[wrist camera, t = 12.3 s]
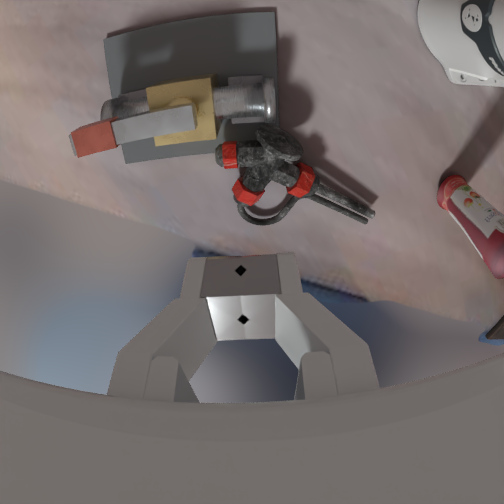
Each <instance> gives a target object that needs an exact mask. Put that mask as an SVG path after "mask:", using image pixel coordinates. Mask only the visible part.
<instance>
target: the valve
mask: <svg viewBox="0 0 504 504" xmlns="http://www.w3.org/2000/svg"><path fill="white" fill-rule="evenodd" d="M255 135H256V138H257V140H246V141H239V144H237V141H226V142H224V143H223V144H219V145H218V146H217V148H216V149H215V157H216V162H217V164H218V165H220V166H221V167H223V166H224V168H225V169H228V168H238V164H240V167H247V168H246V172H245V173H244V175H243V176H242V177H241V178H239V179H237V181H236V183H235V184H234V186H233V188H232V191H233V193H234V200H235V202H236V203H237V204H238V205H237V208H238V212H239V214H240V215H241V216H242V218H243V219H245V220H246V221H248V222H250V223H252V224H255V225H270V224H274V223H276V222H278V221H280V220H281V219H282V218H283V217H285V216H286V214H287V213H288V212H289V211H290V209H291V208H292V207H293V206H294V204H295V203H296V202H297V201H298V200H299V199H301V198H309V199H311V200H313V201H316V202H318V203H320V204H322V205H325V206H327V207H329V208H331V209H333V210H336V211H338V212H340V213H342V214H344V215H346V216H349V217H351V218H353V219H355V220H357V221H359V222H361V223H363V224H367V223H368V219H367V218H365V217H363V216H361V215H358V214H356V213H354V212H352V211H350V210H348V209H346V208H344V207H342V206H340V205H338V204H335V203H333V202H331V201H329V200H327V199H325V198H323V197H320V196H318V195H316V194H314V193H315V192H317V193H319V194H321V195H324V196H326V197H328V198H330V199H332V200H334V201H336V202H339V203H341V204H343V205H345V206H347V207H349V208H351V209H353V210H355V211H357V212H359V213H361V214H363V215H365V216H367V217H369V218H373V217H374V216H375V211H373V210H372V209H370V208H368V207H366V206H364V205H362V204H360V203H358V202H356V201H354V200H352V199H350V198H348V197H346V196H344V195H342V194H340V193H338V192H336V191H334V190H332V189H330V188H328V187H326V186H324V185H322V184H320V180H319V177H318V176H317V175H316V174H315V173H314V172H313V169H312V167H310V166H307V165H305V164H303V163H301V162H299V163H298V164H297V165H295V166H294V165H292V164H290V163H288V162H285V159H286V160H289V161H297V160H299V159H300V158H301V156H302V155H303V149H302V147H301V145H300V144H299V142H298V141H297V140H296V139H295V138H294V137H293V136H291V135H290V134H289V133H287V132H285V131H284V130H282V129H280V128H278V127H275V126H272V125H268V124H263V125H260V126H259V127H258V128H257V130H256V132H255ZM271 180H272V181H275V182H277V183H280V184H282V185H285V186H286V188H287V193H289V194H292V195H293V196H292V197H291V199H290V200H289V201H288V202H287V204H286V205H285V206H284V208H283V209H282V210H281V211H280V213H279V214H277V215H276V216H274V217H272V218H268V219H258V218H254V217H252V216H250V215H248V214H247V212H246V211H245V209H244V207H248V206H252V205H253V204H254V203H256V202H257V201H259V199H260V198H261V196H262V195H263V193H264V192H265V190H264V188H265V187H266V185H267V184H268V183H269V182H270V181H271Z"/></svg>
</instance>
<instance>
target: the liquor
mask: <svg viewBox="0 0 504 504" xmlns="http://www.w3.org/2000/svg"><path fill="white" fill-rule="evenodd" d="M437 201H438V204H439V206H440V207H441V208H443V209H445V210H447V211H448V212H449V213H450V215H451V216H452V217H453V218H454V219H455V221H456V222H457V223H458V225H459V226H460V227H461V228H462V230H463V231H464V232H465V234H466V235H467V237H468V238H469V239H470V241H471V242H472V244H473V245H474V247H475V248H476V250H477V251H478V253H479V254H480V256H481V257H482V259H483V260H484V262H485V263H486V265H487V266H488V268H489V269H490V271H491V272H492V274H493V276H494V277H495V278H497V279H503V278H504V215H503V214H502V213H500V212H499V211H498V210H497V209H496V208H495V207H493V206H492V205H491V204H490V203H489V202H488V201H486V200H485V199H484V198H483V197H482V196H481V195H479V194H478V193H477V192H476V191H475V190H474V189H472V188H471V187H470V186H469V185H468V184H467V183H466V181H465V179H464V178H463V177H462V176H460V175H452V176H450V177H448V178H446V179H445V180H444V181H443V183H442V184H441V185H440V187H439V190H438V193H437Z"/></svg>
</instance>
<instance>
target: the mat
mask: <svg viewBox="0 0 504 504" xmlns="http://www.w3.org/2000/svg"><path fill="white" fill-rule="evenodd" d="M103 41H104V49H105V57H106V64H107V71H108V77H109V84H110V90H111V95H112V99H114V98H118V95H120V94H122V93H124V92H129V91H133V90H138V89H142V88H147V87H149V86H152V85H154V84H156V83H159V82H161V81H165V80H171V79H177V78H183V77H190V76H198V75H206V74H215V73H217V81H218V87H224V86H229V84H228V77H229V76H234V75H249V74H262V77H273V80H274V87H275V99H276V121H275V123H264V122H253V123H237V124H232V120H231V119H221V127H220V130H219V133H218V136H217V139H214V140H203V141H194V142H185V143H177V144H169V145H162V146H155V140H154V137H150V138H145V139H141V140H136V141H131V142H127V143H122V144H121V145H122V150H123V154H124V158H125V163H126V164H128V163H134V162H141V161H148V160H155V159H162V158H170V157H178V156H187V155H196V154H206V153H215V149H216V148H217V146H218V145H219V144H223V143H224V142H226V141H237V144H239V141H246V140H257V138H256V135H255V132H256V130H257V128H258V127H259V126H260V125H263V124H268V125H272V126H275V127H278V128H279V96H278V70H277V48H276V29H275V12H253V13H236V14H224V15H215V16H206V17H199V18H192V19H186V20H180V21H174V22H169V23H164V24H159V25H155V26H150V27H146V28H142V29H138V30H134V31H130V32H127V33H123V34H120V35H116V36H113V37H110V38H107V39H103Z"/></svg>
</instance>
